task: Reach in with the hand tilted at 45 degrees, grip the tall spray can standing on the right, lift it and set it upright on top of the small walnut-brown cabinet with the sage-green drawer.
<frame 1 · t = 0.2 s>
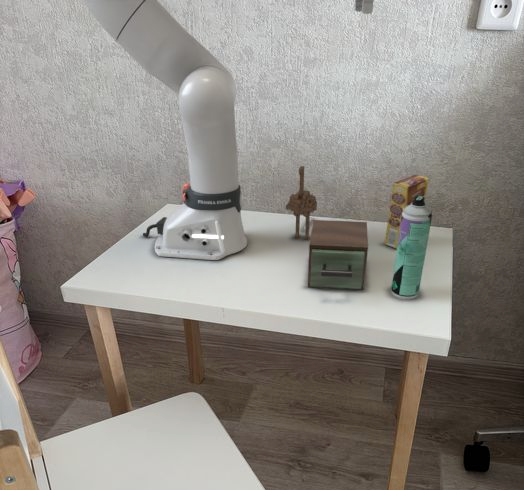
hand: (362, 12, 103), 48 cm above the table, tool pointing down, fingers open, 8 cm apart
spray can: (404, 294, 109), on the table
cabinet drawer: (337, 261, 110), point 5 cm above the table, slide at 0.0 cm
candy box: (401, 242, 130), on the table
cabinet: (336, 274, 116), on the table
ostrich figurine: (305, 231, 137), on the table
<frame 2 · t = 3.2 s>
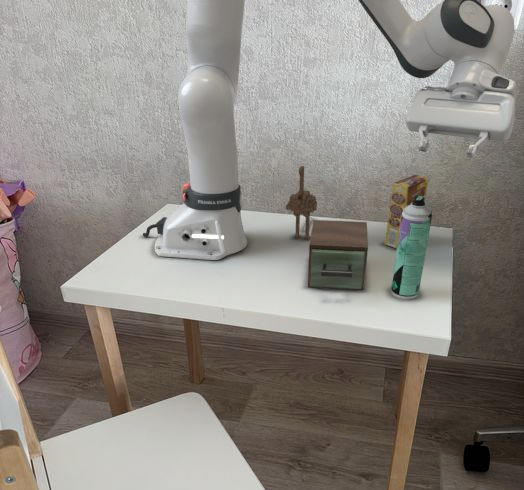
hand: (445, 153, 103), 25 cm above the table, tool tilted 45°, fingers open, 8 cm apart
nothing on the table moved.
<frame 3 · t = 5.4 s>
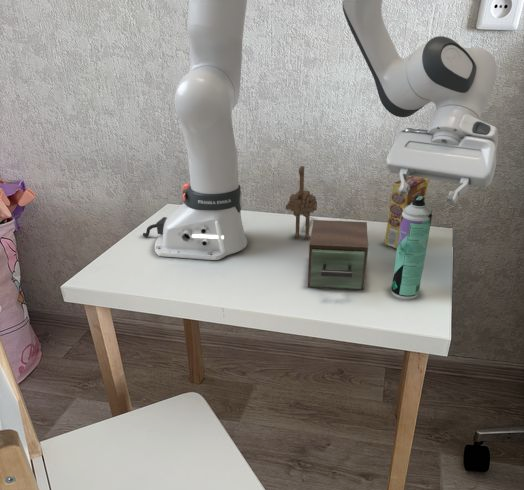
hand: (426, 197, 101), 19 cm above the table, tool tilted 45°, fingers open, 8 cm apart
nothing on the table moved.
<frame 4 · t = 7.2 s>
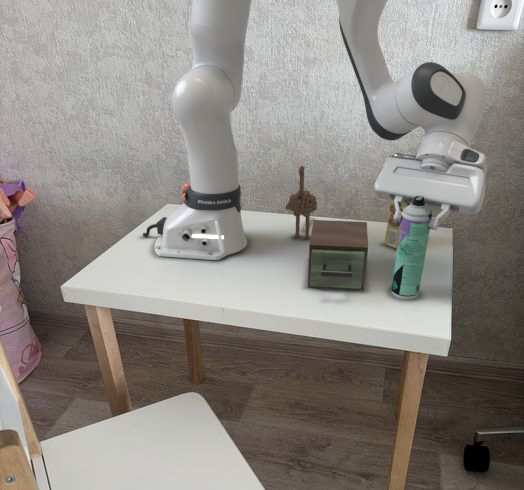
hand: (414, 224, 100), 15 cm above the table, tool tilted 45°, fingers closed on spray can, 5 cm apart
spray can: (404, 294, 109), on the table, touching gripper
everything else where it was.
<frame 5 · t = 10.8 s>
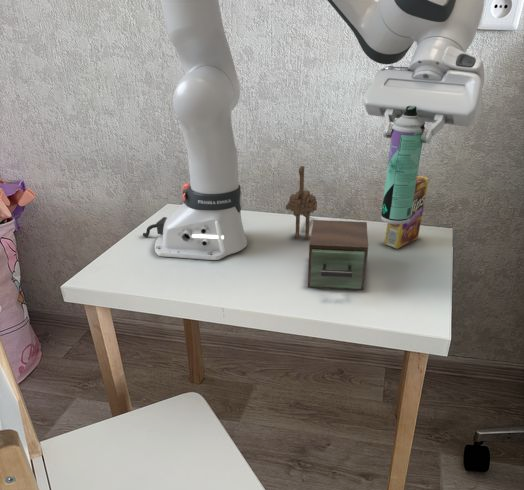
hand: (406, 138, 93), 30 cm above the table, tool tilted 45°, fingers closed on spray can, 5 cm apart
spray can: (395, 220, 102), point 15 cm above the table, touching gripper
everything else where it was.
when the fingers open (24 cm above the table, at t = 14.5 s): spray can stays where it is, resting on cabinet.
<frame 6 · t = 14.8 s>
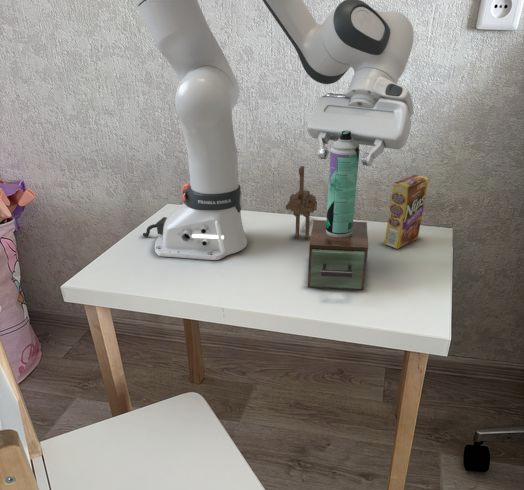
hand: (343, 160, 102), 24 cm above the table, tool tilted 45°, fingers open, 8 cm apart
spray can: (338, 233, 111), point 9 cm above the table, touching cabinet
everything else where it was.
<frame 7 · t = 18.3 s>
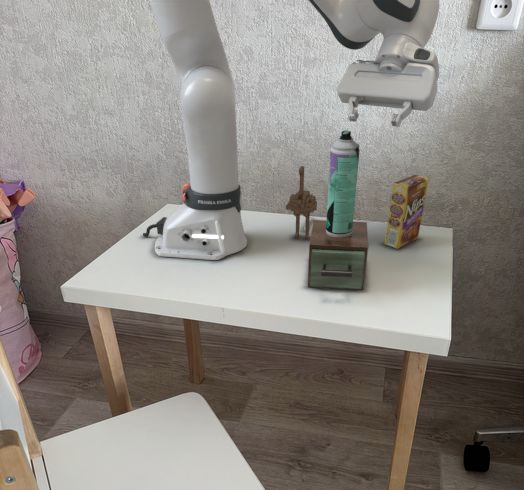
hand: (372, 122, 108), 29 cm above the table, tool tilted 45°, fingers open, 8 cm apart
nothing on the table moved.
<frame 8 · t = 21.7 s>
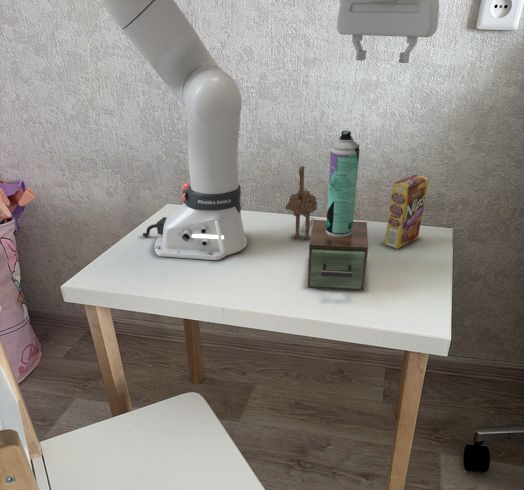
hand: (381, 61, 110), 39 cm above the table, tool pointing down, fingers open, 8 cm apart
nothing on the table moved.
at the end: spray can touching cabinet; spray can tilted 0° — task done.
